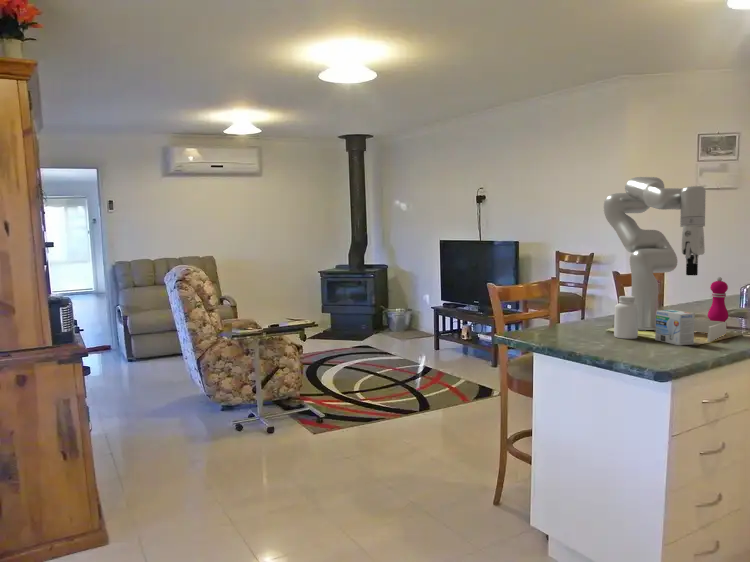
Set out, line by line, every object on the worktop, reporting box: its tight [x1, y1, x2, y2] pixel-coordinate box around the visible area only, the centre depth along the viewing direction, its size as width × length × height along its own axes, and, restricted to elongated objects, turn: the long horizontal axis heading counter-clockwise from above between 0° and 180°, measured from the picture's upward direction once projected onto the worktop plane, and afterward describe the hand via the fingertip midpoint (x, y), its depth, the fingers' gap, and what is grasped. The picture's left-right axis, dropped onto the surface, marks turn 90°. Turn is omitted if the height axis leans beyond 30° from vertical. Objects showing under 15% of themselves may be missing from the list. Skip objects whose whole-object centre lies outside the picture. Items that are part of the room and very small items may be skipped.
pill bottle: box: [613, 295, 639, 340], centre depth 210 cm, size 8×8×15 cm
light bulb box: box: [654, 309, 696, 346], centre depth 200 cm, size 11×7×11 cm, turn 21°
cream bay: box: [694, 318, 727, 343], centre depth 213 cm, size 17×17×5 cm
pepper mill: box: [707, 276, 729, 328], centre depth 231 cm, size 7×7×20 cm
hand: (691, 275), depth 201 cm, fingers closed
